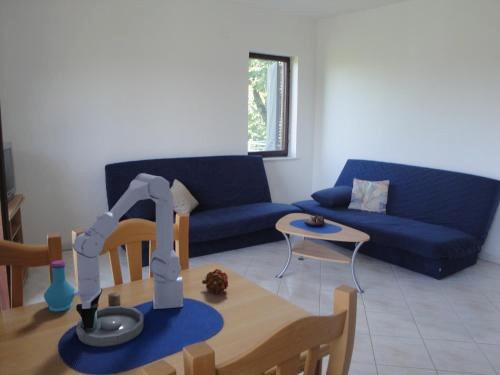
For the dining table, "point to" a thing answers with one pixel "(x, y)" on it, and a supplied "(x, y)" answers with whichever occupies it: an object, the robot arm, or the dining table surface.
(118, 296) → the bead walnut
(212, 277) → the brown pine cone
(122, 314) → the tray
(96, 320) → the bead teal
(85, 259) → the robot arm
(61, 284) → the perfume bottle
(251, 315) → the dining table surface
